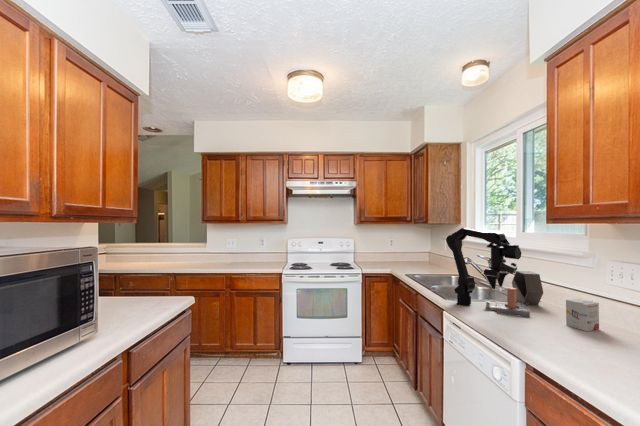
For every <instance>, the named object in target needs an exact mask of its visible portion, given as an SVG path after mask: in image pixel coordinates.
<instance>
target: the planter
mask: <svg viewBox="0 0 640 426" xmlns="http://www.w3.org/2000/svg"><path fill="white" fill-rule="evenodd" d="M511 286H512V288H517V302H519V304H522V305H530V306H531V305H533V306H534V305H535V306H538V305H539V304H540V302H541V299H542V297H543V295H544V289H543V288H544V287H543V285H542V280H541V276H540V273H537V272H534V271H529V270H516V272H515V273H514V276H513V279H512V281H511Z"/></svg>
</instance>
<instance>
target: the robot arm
mask: <svg viewBox="0 0 640 426" xmlns="http://www.w3.org/2000/svg"><path fill="white" fill-rule="evenodd" d="M467 237H472V238H476V239H481V240H484V241H486V242H488V243H489V244H488V245H486V248H488V249H489V248H490V258H489V259H488V260H489V262H490V266H489V267H488V268H485V269H484V270H483V275H484V277H486V279H487V281H488V283H489V285H490V287H491V289H493V290H495V289H496V285H498V286H499V287H503V284H504V281H505V278H506V276H508V275H509V274H512V275H513V274H515V272H516V271H518V266H517V263H515V262H511V263H509V262H507V260H506V259H511V260H520V259H521V257H522V251H521V248H520V246H519V244H511V243H510V242H509V240H508V239H507V237H506V235H505V234H504V232H501V231H498V232H495V231H493V232H492V231H491V232H490V231H481V230H479V229H478V230H477V229H472V228H469V227H461V228H460V229H458V230H457V231H455V232H453V233H451V234H448V235H447V237H446V239H445V242H446V244H447V246H448V248H449V249H450V250H451V252H452V255H453V258H454V261H455V262H454V263H455V265H456V269H457V272H458V280H457V283H458V285H457V286H456V287H455V288H454V289H453V290H454V293H455V294H456V297H457V299H456V306H457V305H459V306H467V307H470V305H471V304H472V296H471V295H470V294H472V293H473V290H475V288H476V284H477V283H476V282H475V278H474V276H470V274H469V272H468V268H467V265H466V262H465V258H464V255H463V251H462V248H463V241H464V240H465V239H466V238H467ZM497 283H498V284H497Z"/></svg>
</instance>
